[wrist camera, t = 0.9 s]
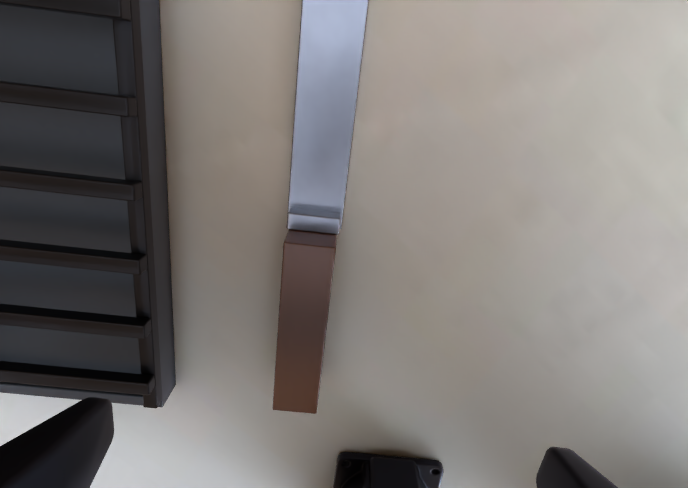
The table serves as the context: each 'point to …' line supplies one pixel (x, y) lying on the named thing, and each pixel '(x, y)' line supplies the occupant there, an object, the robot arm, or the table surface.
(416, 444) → the table surface
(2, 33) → the dish rack
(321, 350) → the knife
